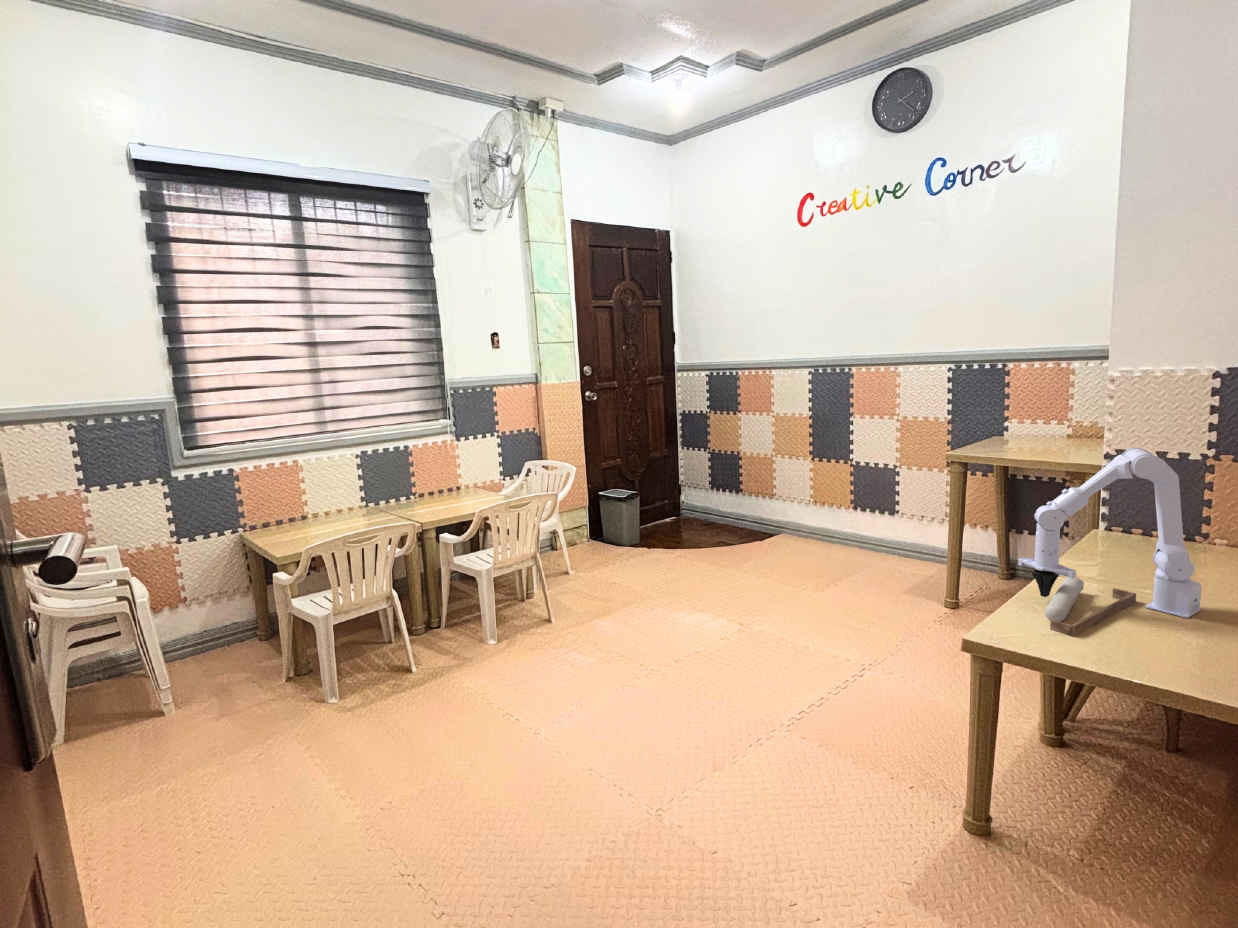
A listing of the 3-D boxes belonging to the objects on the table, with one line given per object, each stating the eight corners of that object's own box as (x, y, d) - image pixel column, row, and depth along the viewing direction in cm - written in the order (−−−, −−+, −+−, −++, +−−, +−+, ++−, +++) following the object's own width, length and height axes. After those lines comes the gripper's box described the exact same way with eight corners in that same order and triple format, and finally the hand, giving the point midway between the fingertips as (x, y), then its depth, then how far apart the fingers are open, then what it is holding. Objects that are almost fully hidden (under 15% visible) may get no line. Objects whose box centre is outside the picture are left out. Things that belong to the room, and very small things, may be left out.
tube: (1069, 612, 181) (1087, 581, 199) (1047, 602, 184) (1066, 572, 202) (1060, 629, 183) (1079, 596, 201) (1038, 619, 186) (1059, 587, 204)
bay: (1135, 602, 192) (1136, 593, 192) (1072, 636, 176) (1073, 626, 175) (1113, 596, 197) (1114, 587, 196) (1050, 629, 181) (1050, 620, 180)
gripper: (1012, 546, 198) (1010, 591, 201) (1067, 558, 186) (1064, 607, 189) (1026, 540, 202) (1024, 585, 204) (1081, 552, 190) (1078, 600, 192)
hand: (1044, 595), depth 197 cm, fingers closed
